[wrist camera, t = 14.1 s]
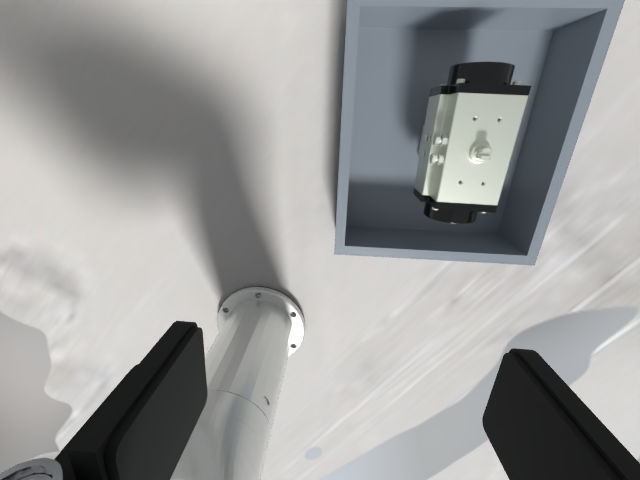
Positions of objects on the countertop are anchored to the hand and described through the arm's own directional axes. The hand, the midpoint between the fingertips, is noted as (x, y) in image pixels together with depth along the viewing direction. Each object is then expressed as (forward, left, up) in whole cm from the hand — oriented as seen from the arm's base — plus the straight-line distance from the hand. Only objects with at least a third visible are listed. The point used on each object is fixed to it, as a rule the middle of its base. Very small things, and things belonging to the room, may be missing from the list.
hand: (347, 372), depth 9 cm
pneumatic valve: (+5, -9, -27) cm, 29 cm away
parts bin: (+5, -9, -28) cm, 30 cm away
